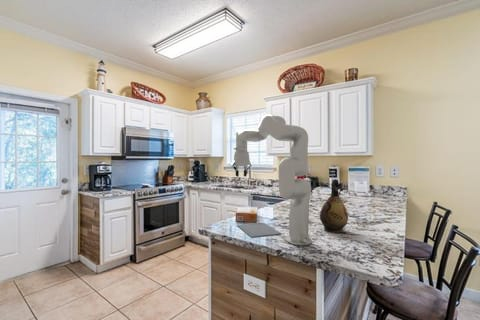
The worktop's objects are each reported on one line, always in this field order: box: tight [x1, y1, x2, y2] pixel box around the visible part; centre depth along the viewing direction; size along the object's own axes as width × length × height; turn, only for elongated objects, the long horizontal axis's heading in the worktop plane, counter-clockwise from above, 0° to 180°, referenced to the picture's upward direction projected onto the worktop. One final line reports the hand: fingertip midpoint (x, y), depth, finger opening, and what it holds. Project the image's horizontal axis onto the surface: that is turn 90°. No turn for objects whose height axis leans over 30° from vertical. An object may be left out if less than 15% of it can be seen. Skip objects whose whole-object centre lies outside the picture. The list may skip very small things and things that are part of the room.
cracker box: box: [235, 205, 259, 223], centre depth 164 cm, size 14×6×21 cm
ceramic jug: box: [319, 178, 349, 233], centre depth 140 cm, size 17×15×30 cm
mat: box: [237, 222, 282, 239], centre depth 137 cm, size 22×18×1 cm
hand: (241, 176), depth 159 cm, fingers open, 4 cm apart
